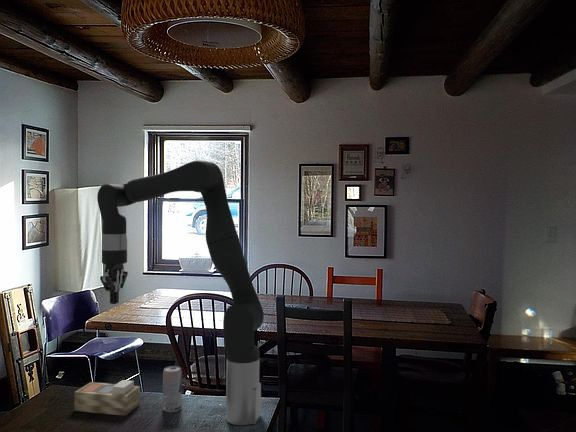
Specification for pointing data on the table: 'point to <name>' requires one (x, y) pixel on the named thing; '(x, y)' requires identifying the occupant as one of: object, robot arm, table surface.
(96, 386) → the rust key
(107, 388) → the slate key
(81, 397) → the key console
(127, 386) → the ivory key
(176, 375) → the energy drink
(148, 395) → the table surface
